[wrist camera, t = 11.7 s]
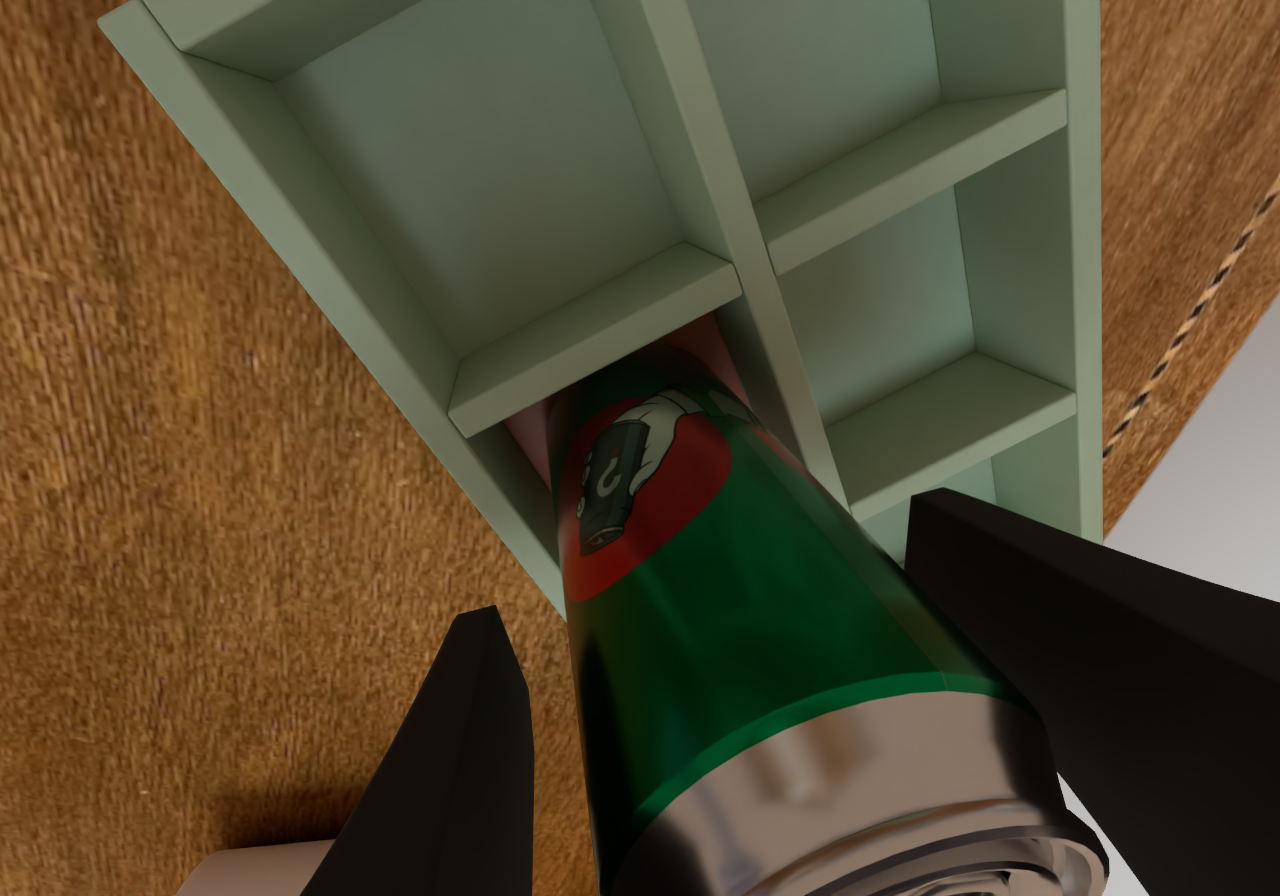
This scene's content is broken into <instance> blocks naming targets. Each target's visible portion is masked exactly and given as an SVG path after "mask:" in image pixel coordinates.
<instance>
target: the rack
mask: <svg viewBox="0 0 1280 896" xmlns="http://www.w3.org/2000/svg"><path fill="white" fill-rule="evenodd" d="M97 24H98V26H99V27H100V28H101V30H102V31H103V32H104V34H105V35H106V36H107V37H108V39H109V40H110V41H111V43H112V44H113V45H114V46H115V48H116V49H117V50H118V51H119V53H120V54H121V55H122V57H123V58H124V59H125V60H126V62H127V63H128V64H129V65H130V67H131V68H132V69H133V71H134V72H135V73H136V74H137V76H138V77H139V78H140V79H141V81H142V82H143V83H144V85H145V86H146V87H147V88H148V90H149V91H150V92H151V94H152V95H153V96H154V97H155V99H156V100H157V101H158V102H159V104H160V105H161V106H162V108H163V109H164V110H165V111H166V113H167V114H168V115H169V116H170V118H171V119H172V120H173V122H174V123H175V124H176V125H177V127H178V128H179V129H180V130H181V132H182V133H183V134H184V136H185V137H186V138H187V139H188V141H189V142H190V143H191V144H192V146H193V147H194V148H195V150H196V151H197V152H198V153H199V155H200V156H201V157H202V159H203V160H204V161H205V162H206V164H207V165H208V166H209V167H210V169H211V170H212V171H213V173H214V174H215V175H216V176H217V178H218V179H219V180H220V181H221V183H222V184H223V185H224V187H225V188H226V189H227V190H228V192H229V193H230V194H231V195H232V197H233V198H234V199H235V201H236V202H237V203H238V204H239V206H240V207H241V208H242V209H243V211H244V212H245V213H246V215H247V216H248V217H249V218H250V220H251V221H252V222H253V224H254V225H255V226H256V227H257V229H258V230H259V231H260V232H261V234H262V235H263V236H264V238H265V239H266V240H267V241H268V243H269V244H270V245H271V246H272V248H273V249H274V250H275V252H276V253H277V254H278V255H279V257H280V258H281V259H282V260H283V262H284V263H285V264H286V266H287V267H288V268H289V269H290V271H291V272H292V273H293V274H294V276H295V277H296V278H297V280H298V281H299V282H300V283H301V285H302V286H303V287H304V289H305V290H306V291H307V292H308V294H309V295H310V296H311V297H312V299H313V300H314V301H315V303H316V304H317V305H318V306H319V308H320V309H321V310H322V311H323V313H324V314H325V315H326V317H327V318H328V319H329V320H330V322H331V323H332V324H333V325H334V327H335V328H336V329H337V331H338V332H339V333H340V334H341V336H342V337H343V338H344V339H345V341H346V342H347V343H348V345H349V346H350V347H351V348H352V350H353V351H354V352H355V354H356V355H357V356H358V357H359V359H360V360H361V361H362V362H363V364H364V365H365V366H366V368H367V369H368V370H369V371H370V373H371V374H372V375H373V376H374V378H375V379H376V380H377V382H378V383H379V384H380V385H381V387H382V388H383V389H384V390H385V392H386V393H387V394H388V396H389V397H390V398H391V399H392V401H393V402H394V403H395V405H396V406H397V407H398V408H399V410H400V411H401V412H402V413H403V415H404V416H405V417H406V419H407V420H408V421H409V422H410V424H411V425H412V426H413V427H414V429H415V430H416V431H417V433H418V434H419V435H420V436H421V438H422V439H423V440H424V441H425V443H426V444H427V445H428V447H429V448H430V449H431V450H432V452H433V453H434V454H435V455H436V457H437V458H438V459H439V461H440V462H441V463H442V464H443V466H444V467H445V468H446V470H447V471H448V472H449V473H450V475H451V476H452V477H453V478H454V480H455V481H456V482H457V484H458V485H459V486H460V487H461V489H462V490H463V491H464V492H465V494H466V495H467V496H468V498H469V499H470V500H471V501H472V503H473V504H474V505H475V506H476V508H477V509H478V510H479V512H480V513H481V514H482V515H483V517H484V518H485V519H486V520H487V522H488V523H489V524H490V526H491V527H492V528H493V529H494V531H495V532H496V533H497V535H498V536H499V537H500V538H501V540H502V541H503V542H504V543H505V545H506V546H507V547H508V549H509V550H510V551H511V552H512V554H513V555H514V556H515V557H516V559H517V560H518V561H519V563H520V564H521V565H522V566H523V568H524V569H525V570H526V571H527V573H528V574H529V575H530V577H531V578H532V579H533V580H534V582H535V583H536V584H537V585H538V587H539V588H540V589H541V591H542V592H543V593H544V594H545V596H546V597H547V598H548V600H549V601H550V602H551V603H552V605H553V606H554V607H555V608H556V610H557V611H558V612H559V614H560V615H561V616H562V617H563V619H564V620H565V621H566V622H567V620H566V611H565V603H564V594H563V585H562V577H561V568H560V559H559V551H558V542H557V533H556V524H555V516H554V507H553V498H552V490H551V481H550V472H549V464H548V455H547V445H546V426H547V419H548V415H549V412H550V408H551V405H552V403H553V401H554V399H555V397H556V395H557V393H558V391H559V390H561V389H563V388H565V387H567V386H569V385H571V384H573V383H575V382H576V381H578V380H580V379H582V378H584V377H586V376H588V375H590V374H592V373H594V372H596V371H597V370H599V369H601V368H603V367H605V366H607V365H609V364H611V363H613V362H615V361H617V360H619V359H620V358H622V357H624V356H626V355H628V354H630V353H632V352H634V351H636V350H638V349H640V348H641V347H643V346H645V345H647V344H649V343H651V342H656V343H665V344H669V345H672V346H676V347H679V348H682V349H684V350H686V351H688V352H690V353H692V354H694V355H695V356H697V357H698V358H699V359H701V360H702V361H704V362H705V363H706V364H707V365H708V366H709V367H710V368H711V369H712V370H713V371H714V373H715V374H716V375H717V376H718V377H719V378H720V379H721V380H722V381H723V382H724V383H725V384H726V385H727V386H728V387H729V388H730V389H731V390H732V391H733V392H734V393H735V394H736V395H737V397H738V398H739V399H740V400H741V401H742V402H743V403H744V404H745V405H746V406H747V407H748V408H749V409H750V410H751V411H752V412H753V413H754V414H755V415H756V416H757V417H758V418H759V419H760V421H761V422H762V423H763V424H764V425H765V426H766V427H767V428H768V429H769V430H770V431H771V432H772V433H773V434H774V435H775V436H776V437H777V438H778V439H779V440H780V441H781V442H782V444H783V445H784V446H785V447H786V448H787V449H788V450H789V451H790V452H791V453H792V454H793V455H794V456H795V457H796V458H797V459H798V460H799V461H800V462H801V463H802V464H803V465H804V466H805V468H806V469H807V470H808V471H809V472H810V473H811V474H812V475H813V476H814V477H815V478H816V479H817V480H818V481H819V482H820V483H821V484H822V485H823V486H824V487H825V488H826V489H827V490H828V492H829V493H830V494H831V495H832V496H833V497H834V498H835V499H836V500H837V501H838V502H839V503H840V504H841V505H842V506H843V507H844V508H845V509H846V510H847V511H848V512H849V513H850V514H851V516H852V517H853V518H854V519H855V520H856V521H857V522H858V523H859V524H860V525H861V526H862V527H863V528H864V529H865V530H866V531H867V532H868V533H869V534H870V535H871V536H872V537H873V539H874V540H875V541H876V542H877V543H878V544H879V545H880V546H881V547H882V548H883V549H884V550H885V551H886V552H887V553H888V554H889V555H890V556H891V557H892V558H893V559H894V560H895V561H896V563H897V564H898V565H899V566H900V567H901V568H902V569H903V570H904V562H905V552H906V541H907V531H908V521H909V510H910V500H911V495H915V494H918V493H922V492H926V491H930V490H934V489H938V488H941V487H945V488H948V489H951V490H955V491H958V492H961V493H964V494H966V495H969V496H972V497H975V498H978V499H980V500H983V501H986V502H988V503H991V504H994V505H997V506H999V507H1002V508H1004V509H1007V510H1010V511H1012V512H1015V513H1018V514H1020V515H1023V516H1025V517H1028V518H1031V519H1033V520H1036V521H1038V522H1041V523H1044V524H1046V525H1049V526H1052V527H1054V528H1057V529H1059V530H1062V531H1065V532H1067V533H1070V534H1073V535H1075V536H1078V537H1081V538H1083V539H1086V540H1089V541H1092V542H1094V543H1097V544H1100V545H1103V474H1102V267H1101V60H1100V0H130V1H128V2H126V3H125V4H123V5H121V6H119V7H117V8H116V9H114V10H112V11H110V12H109V13H107V14H105V15H103V16H102V17H100V18H99V19H98V20H97Z"/></svg>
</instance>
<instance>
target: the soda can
mask: <svg viewBox="0 0 1280 896" xmlns="http://www.w3.org/2000/svg"><path fill="white" fill-rule="evenodd" d="M546 445H547V455H548V464H549V472H550V481H551V490H552V498H553V507H554V516H555V524H556V533H557V542H558V551H559V559H560V568H561V577H562V585H563V594H564V603H565V611H566V620H567V629H568V637H569V646H570V655H571V664H572V672H573V681H574V690H575V698H576V707H577V716H578V724H579V733H580V742H581V750H582V759H583V768H584V777H585V785H586V794H587V803H588V811H589V820H590V829H591V837H592V846H593V855H594V863H595V872H596V881H597V889H598V896H1101V895H1102V894H1103V892H1104V890H1105V887H1106V884H1107V880H1108V877H1109V858H1108V856H1107V854H1106V852H1105V850H1104V848H1103V846H1102V844H1101V842H1100V840H1099V839H1098V837H1097V835H1096V833H1095V831H1093V830H1092V829H1091V828H1090V827H1089V826H1087V825H1086V824H1085V823H1084V822H1083V821H1082V820H1080V819H1079V818H1078V817H1077V816H1076V815H1075V814H1073V813H1072V812H1071V811H1070V810H1068V809H1067V808H1066V804H1065V801H1064V798H1063V794H1062V790H1061V787H1060V783H1059V780H1058V775H1057V771H1056V767H1055V762H1054V758H1053V754H1052V749H1051V745H1050V741H1049V737H1048V732H1047V728H1046V726H1045V724H1044V722H1043V720H1042V718H1041V716H1040V714H1039V712H1038V710H1037V709H1036V708H1035V707H1034V706H1033V705H1032V703H1031V702H1030V701H1029V700H1028V699H1027V698H1026V697H1025V696H1024V695H1023V694H1022V693H1021V692H1020V691H1019V690H1018V689H1017V688H1016V687H1015V686H1014V685H1013V684H1012V683H1011V682H1010V681H1009V679H1008V678H1007V677H1006V676H1005V675H1004V674H1003V673H1002V672H1001V671H1000V670H999V669H998V668H997V667H996V666H995V665H994V664H993V663H992V662H991V661H990V660H989V659H988V658H987V656H986V655H985V654H984V653H983V652H982V651H981V650H980V649H979V648H978V647H977V646H976V645H975V644H974V643H973V642H972V641H971V640H970V639H969V638H968V637H967V636H966V635H965V634H964V632H963V631H962V630H961V629H960V628H959V627H958V626H957V625H956V624H955V623H954V622H953V621H952V620H951V619H950V618H949V617H948V616H947V615H946V614H945V613H944V612H943V611H942V610H941V608H940V607H939V606H938V605H937V604H936V603H935V602H934V601H933V600H932V599H931V598H930V597H929V596H928V595H927V594H926V593H925V592H924V591H923V590H922V589H921V588H920V587H919V585H918V584H917V583H916V582H915V581H914V580H913V579H912V578H911V577H910V576H909V575H908V574H907V573H906V572H905V571H904V570H903V569H902V568H901V567H900V566H899V565H898V564H897V563H896V561H895V560H894V559H893V558H892V557H891V556H890V555H889V554H888V553H887V552H886V551H885V550H884V549H883V548H882V547H881V546H880V545H879V544H878V543H877V542H876V541H875V540H874V539H873V537H872V536H871V535H870V534H869V533H868V532H867V531H866V530H865V529H864V528H863V527H862V526H861V525H860V524H859V523H858V522H857V521H856V520H855V519H854V518H853V517H852V516H851V514H850V513H849V512H848V511H847V510H846V509H845V508H844V507H843V506H842V505H841V504H840V503H839V502H838V501H837V500H836V499H835V498H834V497H833V496H832V495H831V494H830V493H829V492H828V490H827V489H826V488H825V487H824V486H823V485H822V484H821V483H820V482H819V481H818V480H817V479H816V478H815V477H814V476H813V475H812V474H811V473H810V472H809V471H808V470H807V469H806V468H805V466H804V465H803V464H802V463H801V462H800V461H799V460H798V459H797V458H796V457H795V456H794V455H793V454H792V453H791V452H790V451H789V450H788V449H787V448H786V447H785V446H784V445H783V444H782V442H781V441H780V440H779V439H778V438H777V437H776V436H775V435H774V434H773V433H772V432H771V431H770V430H769V429H768V428H767V427H766V426H765V425H764V424H763V423H762V422H761V421H760V419H759V418H758V417H757V416H756V415H755V414H754V413H753V412H752V411H751V410H750V409H749V408H748V407H747V406H746V405H745V404H744V403H743V402H742V401H741V400H740V399H739V398H738V397H737V395H736V394H735V393H734V392H733V391H732V390H731V389H730V388H729V387H728V386H727V385H726V384H725V383H724V382H723V381H722V380H721V379H720V378H719V377H718V376H717V375H716V374H715V373H714V371H713V370H712V369H711V368H710V367H709V366H708V365H707V364H706V363H705V362H704V361H702V360H701V359H699V358H698V357H697V356H695V355H694V354H692V353H690V352H688V351H686V350H684V349H682V348H679V347H676V346H672V345H669V344H665V343H656V342H651V343H649V344H647V345H645V346H643V347H641V348H640V349H638V350H636V351H634V352H632V353H630V354H628V355H626V356H624V357H622V358H620V359H619V360H617V361H615V362H613V363H611V364H609V365H607V366H605V367H603V368H601V369H599V370H597V371H596V372H594V373H592V374H590V375H588V376H586V377H584V378H582V379H580V380H578V381H576V382H575V383H573V384H571V385H569V386H567V387H565V388H563V389H561V390H559V391H558V393H557V395H556V397H555V399H554V401H553V403H552V405H551V408H550V412H549V415H548V419H547V426H546Z"/></svg>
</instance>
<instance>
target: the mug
mask: <svg viewBox="0 0 1280 896" xmlns="http://www.w3.org/2000/svg"><path fill="white" fill-rule="evenodd" d="M335 840H336V839H331V840H321V841H311V842H301V843H291V844H281V845H271V846H261V847H251V848H241V849H231V850H222V851H217V852H215V853H213V854H211V855H209V856H208V857H207V858H205V859H204V860H203V861H202V862H201V863H200V864H198V866H197V867H196V868H195V869H194V870H193V871H192V872H191V874H190V875H189V876H188V877H187V879H186V880H185V881H184V883H183V884H182V886H181V887H180V889H179V890H178V892H177V893H176V895H175V896H299V895H300V894H301V892H302V891H303V889H304V888H305V886H306V885H307V883H308V882H309V880H310V879H311V877H312V876H313V874H314V873H315V871H316V870H317V868H318V866H319V865H320V863H321V862H322V860H323V859H324V857H325V856H326V854H327V852H328V851H329V849H330V848H331V846H332V844H333V843H334V841H335Z"/></svg>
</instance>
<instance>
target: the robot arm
mask: <svg viewBox="0 0 1280 896" xmlns="http://www.w3.org/2000/svg"><path fill="white" fill-rule="evenodd" d="M904 571H905V572H906V573H907V574H908V575H909V576H910V577H911V578H912V579H913V580H914V581H915V582H916V583H917V584H918V585H919V587H920V588H921V589H922V590H923V591H924V592H925V593H926V594H927V595H928V596H929V597H930V598H931V599H932V600H933V601H934V602H935V603H936V604H937V605H938V606H939V607H940V608H941V610H942V611H943V612H944V613H945V614H946V615H947V616H948V617H949V618H950V619H951V620H952V621H953V622H954V623H955V624H956V625H957V626H958V627H959V628H960V629H961V630H962V631H963V632H964V634H965V635H966V636H967V637H968V638H969V639H970V640H971V641H972V642H973V643H974V644H975V645H976V646H977V647H978V648H979V649H980V650H981V651H982V652H983V653H984V654H985V655H986V656H987V658H988V659H989V660H990V661H991V662H992V663H993V664H994V665H995V666H996V667H997V668H998V669H999V670H1000V671H1001V672H1002V673H1003V674H1004V675H1005V676H1006V677H1007V678H1008V679H1009V681H1010V682H1011V683H1012V684H1013V685H1014V686H1015V687H1016V688H1017V689H1018V690H1019V691H1020V692H1021V693H1022V694H1023V695H1024V696H1025V697H1026V698H1027V699H1028V700H1029V701H1030V702H1031V703H1032V705H1033V706H1034V707H1035V708H1036V709H1037V710H1038V712H1039V714H1040V716H1041V718H1042V720H1043V722H1044V724H1045V726H1046V728H1047V732H1048V737H1049V741H1050V745H1051V749H1052V754H1053V758H1054V762H1055V767H1056V771H1057V772H1058V773H1059V774H1060V776H1061V777H1062V778H1063V779H1064V780H1065V782H1066V783H1067V784H1068V786H1069V787H1070V788H1071V790H1072V791H1073V792H1074V793H1075V795H1076V796H1077V797H1078V799H1079V800H1080V801H1081V803H1082V804H1083V805H1084V807H1085V808H1086V809H1087V811H1088V812H1089V813H1090V815H1091V816H1092V817H1093V819H1094V820H1095V821H1096V823H1097V824H1098V825H1099V827H1100V828H1101V829H1102V831H1103V832H1104V833H1105V835H1106V836H1107V837H1108V839H1109V840H1110V841H1111V843H1112V844H1113V845H1114V847H1115V848H1116V849H1117V851H1118V852H1119V854H1120V855H1121V856H1122V858H1123V859H1124V860H1125V862H1126V863H1127V865H1128V866H1129V867H1130V869H1131V870H1132V871H1133V873H1134V874H1135V876H1136V877H1137V879H1138V880H1139V882H1140V883H1141V884H1142V886H1143V887H1144V888H1145V890H1146V891H1147V893H1148V894H1149V896H1280V602H1276V601H1272V600H1269V599H1265V598H1262V597H1258V596H1254V595H1251V594H1248V593H1244V592H1241V591H1237V590H1234V589H1231V588H1228V587H1224V586H1221V585H1218V584H1214V583H1211V582H1208V581H1205V580H1202V579H1199V578H1196V577H1193V576H1190V575H1187V574H1184V573H1181V572H1178V571H1175V570H1172V569H1169V568H1166V567H1163V566H1160V565H1157V564H1154V563H1151V562H1148V561H1145V560H1142V559H1139V558H1136V557H1133V556H1130V555H1128V554H1125V553H1122V552H1119V551H1116V550H1114V549H1111V548H1108V547H1105V546H1103V545H1100V544H1097V543H1094V542H1092V541H1089V540H1086V539H1083V538H1081V537H1078V536H1075V535H1073V534H1070V533H1067V532H1065V531H1062V530H1059V529H1057V528H1054V527H1052V526H1049V525H1046V524H1044V523H1041V522H1038V521H1036V520H1033V519H1031V518H1028V517H1025V516H1023V515H1020V514H1018V513H1015V512H1012V511H1010V510H1007V509H1004V508H1002V507H999V506H997V505H994V504H991V503H988V502H986V501H983V500H980V499H978V498H975V497H972V496H969V495H966V494H964V493H961V492H958V491H955V490H951V489H948V488H945V487H941V488H938V489H934V490H930V491H926V492H922V493H918V494H915V495H911V500H910V510H909V521H908V531H907V541H906V552H905V562H904ZM533 816H534V743H533V731H532V720H531V710H530V699H529V689H528V687H527V684H526V681H525V679H524V676H523V674H522V671H521V669H520V666H519V663H518V661H517V658H516V656H515V653H514V651H513V648H512V646H511V643H510V640H509V638H508V635H507V633H506V630H505V628H504V625H503V622H502V620H501V617H500V615H499V612H498V610H497V607H496V605H493V606H489V607H485V608H481V609H477V610H474V611H470V612H466V613H462V614H458V615H457V616H456V618H455V619H454V621H453V622H452V624H451V626H450V628H449V631H448V633H447V635H446V637H445V639H444V641H443V643H442V645H441V647H440V650H439V652H438V654H437V656H436V658H435V660H434V662H433V664H432V666H431V668H430V670H429V672H428V674H427V676H426V678H425V680H424V682H423V684H422V686H421V688H420V690H419V692H418V694H417V696H416V698H415V700H414V702H413V704H412V706H411V708H410V710H409V712H408V713H407V715H406V717H405V719H404V721H403V723H402V725H401V727H400V729H399V731H398V732H397V734H396V736H395V738H394V740H393V742H392V744H391V746H390V747H389V749H388V751H387V753H386V755H385V757H384V758H383V760H382V762H381V764H380V765H379V767H378V769H377V770H376V772H375V774H374V776H373V777H372V779H371V781H370V782H369V784H368V786H367V788H366V789H365V791H364V793H363V794H362V796H361V798H360V800H359V801H358V803H357V805H356V806H355V808H354V810H353V812H352V813H351V815H350V817H349V818H348V820H347V822H346V823H345V825H344V827H343V828H342V830H341V832H340V833H339V835H338V836H337V838H336V840H335V841H334V843H333V844H332V846H331V848H330V849H329V851H328V852H327V854H326V856H325V857H324V859H323V860H322V862H321V863H320V865H319V866H318V868H317V870H316V871H315V873H314V874H313V876H312V877H311V879H310V880H309V882H308V883H307V885H306V886H305V888H304V889H303V891H302V892H301V894H300V895H299V896H532V870H533Z"/></svg>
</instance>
